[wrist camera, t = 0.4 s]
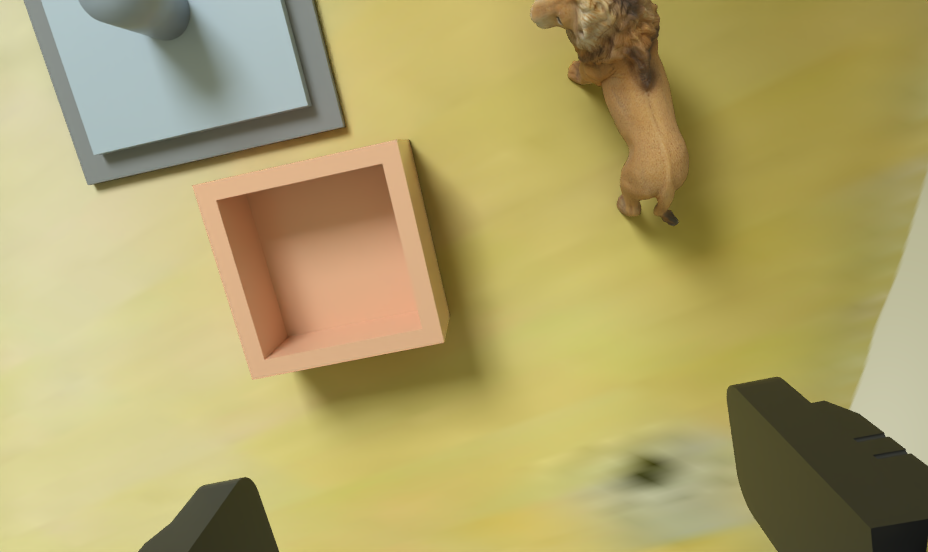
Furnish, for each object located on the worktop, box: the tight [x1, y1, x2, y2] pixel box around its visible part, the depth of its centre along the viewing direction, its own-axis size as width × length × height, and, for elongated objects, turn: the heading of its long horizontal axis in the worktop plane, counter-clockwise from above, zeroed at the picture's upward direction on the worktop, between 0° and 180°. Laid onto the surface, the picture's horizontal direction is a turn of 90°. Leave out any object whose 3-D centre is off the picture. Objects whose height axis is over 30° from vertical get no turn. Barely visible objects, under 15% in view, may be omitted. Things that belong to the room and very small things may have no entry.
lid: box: [41, 0, 312, 155], centre depth 31 cm, size 13×13×6 cm
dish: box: [192, 140, 450, 380], centre depth 34 cm, size 11×11×5 cm
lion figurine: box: [530, 0, 689, 226], centre depth 30 cm, size 15×5×9 cm, turn 31°
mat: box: [24, 0, 346, 185], centre depth 34 cm, size 16×16×1 cm
